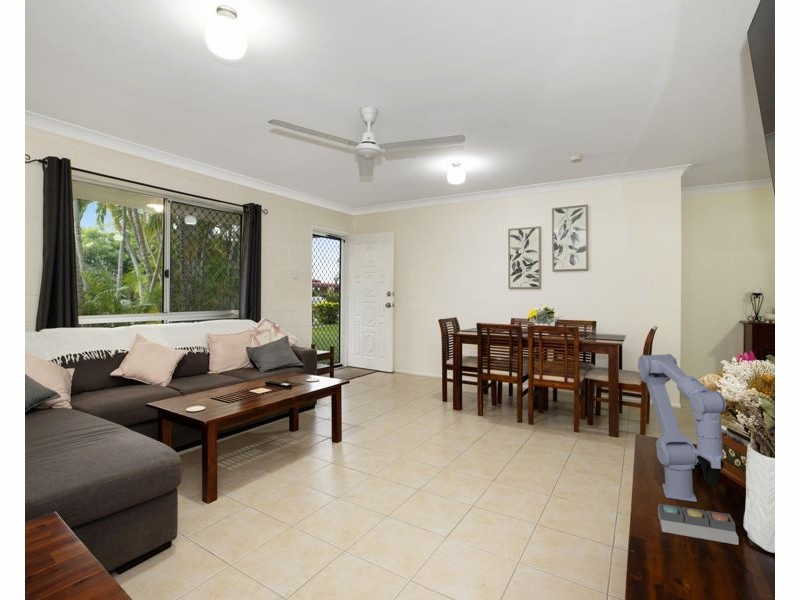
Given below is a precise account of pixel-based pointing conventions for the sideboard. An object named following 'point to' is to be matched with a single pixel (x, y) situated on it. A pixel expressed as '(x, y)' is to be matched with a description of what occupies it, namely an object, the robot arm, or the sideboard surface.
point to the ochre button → (694, 513)
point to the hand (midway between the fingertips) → (711, 484)
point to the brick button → (719, 516)
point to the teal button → (670, 509)
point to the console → (698, 525)
